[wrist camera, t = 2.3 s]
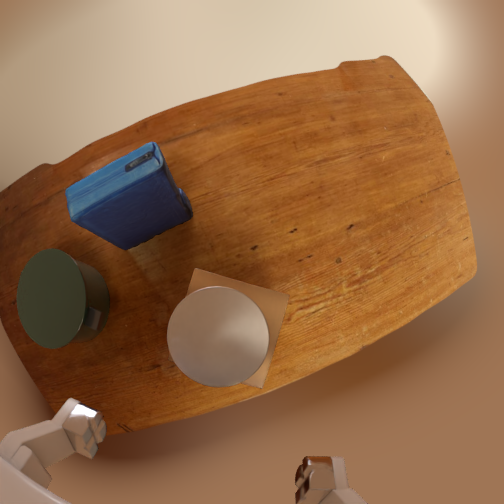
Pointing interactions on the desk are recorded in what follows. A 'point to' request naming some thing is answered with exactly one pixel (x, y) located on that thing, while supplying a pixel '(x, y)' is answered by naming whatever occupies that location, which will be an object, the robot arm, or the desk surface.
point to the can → (218, 336)
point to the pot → (61, 300)
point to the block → (267, 301)
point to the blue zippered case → (129, 199)
